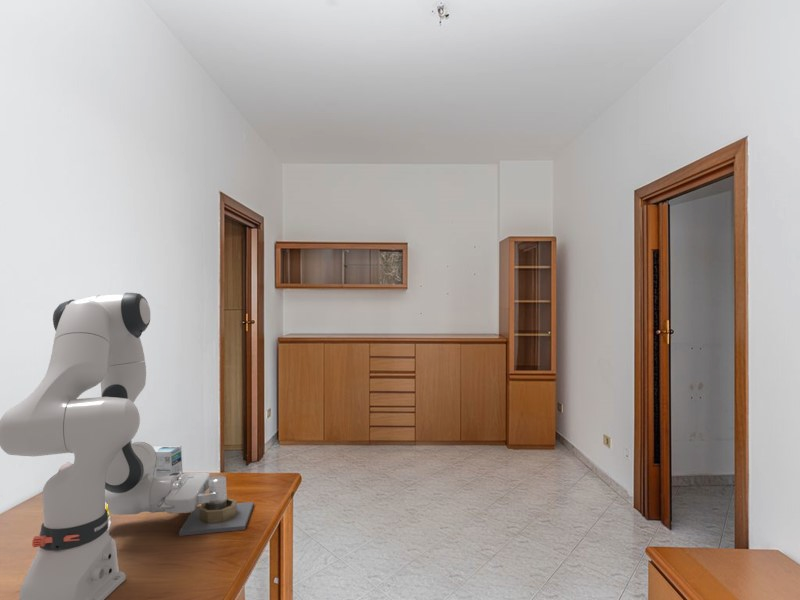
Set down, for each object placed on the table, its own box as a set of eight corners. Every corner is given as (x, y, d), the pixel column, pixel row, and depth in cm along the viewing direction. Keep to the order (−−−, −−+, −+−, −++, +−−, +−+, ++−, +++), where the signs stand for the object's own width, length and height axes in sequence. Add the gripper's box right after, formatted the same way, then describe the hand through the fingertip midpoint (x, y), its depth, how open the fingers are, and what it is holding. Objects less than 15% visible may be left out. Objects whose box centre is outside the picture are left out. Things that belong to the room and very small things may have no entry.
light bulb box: (183, 477, 177) (182, 445, 177) (172, 484, 171) (171, 451, 171) (153, 477, 178) (151, 445, 178) (141, 484, 172) (140, 451, 172)
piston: (225, 518, 140) (224, 480, 140) (208, 520, 140) (206, 482, 140) (228, 511, 145) (227, 475, 145) (211, 513, 144) (210, 476, 144)
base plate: (244, 529, 135) (244, 525, 135) (179, 535, 133) (179, 531, 133) (253, 505, 151) (253, 501, 151) (195, 510, 149) (195, 506, 149)
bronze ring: (232, 521, 138) (232, 509, 138) (197, 524, 137) (196, 512, 137) (238, 507, 147) (238, 497, 147) (205, 510, 146) (204, 499, 146)
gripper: (153, 496, 130) (212, 491, 132) (177, 469, 150) (227, 466, 152) (154, 522, 130) (213, 517, 132) (178, 491, 150) (228, 487, 152)
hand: (221, 489), depth 142 cm, fingers open, 8 cm apart
